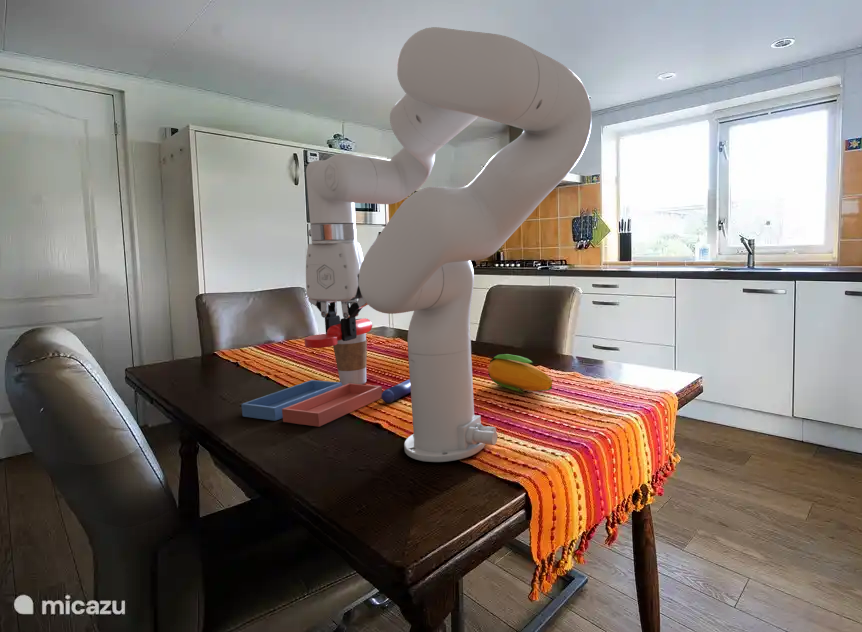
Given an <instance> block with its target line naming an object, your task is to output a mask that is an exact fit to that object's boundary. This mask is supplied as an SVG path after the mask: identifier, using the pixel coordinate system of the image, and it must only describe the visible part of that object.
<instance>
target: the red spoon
mask: <svg viewBox="0 0 862 632" xmlns="http://www.w3.org/2000/svg"><path fill="white" fill-rule="evenodd" d="M358 319H359V320H356V335H360V334H364V333H366V334H368V333H369V332H371V330H372V329H373V323H372V321H371V320H370V319H369V318H366V317H363V318H358ZM339 340H342V332H341V324H337V325H333V326H331V327H329V329H328V330H327V334H326V333H321V334H313V335H308V336H305V337H304V347H305V348H307V349H308V348H309V349H323V348H329V347H333V346H334V345H337V343H338V342H337V341H339Z"/></svg>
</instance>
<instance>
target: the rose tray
mask: <svg viewBox="0 0 862 632" xmlns="http://www.w3.org/2000/svg"><path fill="white" fill-rule="evenodd" d="M382 393H383V386H382V385H374V384H352V383H348V384H346V385H343V386H341V387H338V388H335V389H333V390H330V391H328V392H325V393H322V394H320V395H317V396H315V397H312V398H309V399H307V400H304V401H302V402H299V403H296V404H294V405H291V406H289V407H286V408H283V409H282V414H283V418H282V422H283V423H289V424H297V425H303V426H312V427H322V426H324V425H326V424H329V423H331V422H333V421H335V420H337V419H340V418H341V417H343V416H346V415H348V414H350V413H352V412H354V411H357V410H358V409H361V408H363V407H365V406H367V405H370V404H372V403H374V402H376V401H379V400H380V399H382V397H381V395H382Z"/></svg>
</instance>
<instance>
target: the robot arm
mask: <svg viewBox="0 0 862 632" xmlns="http://www.w3.org/2000/svg"><path fill="white" fill-rule="evenodd" d="M396 76H397V80H398V83H399V86H400V87H401V89H402V91H404V93H405V94H404V95H403V96H402V97H401V98H400V99H399V100H397V102H396V103H395V104H394V105H393V106H392V108H391V110H390V112H389V123H390V127H391V130H392V133H393V134H394V136H395V138H396V139H397V141H398V142H399V144H400V145H401V146H402V148H401V149H400V150H399V151H398V152H396V154H394V155H393V156H391V157H390V158H388V159H387V158H383V157H374V156H368V155H359V154H353V153H337V154H333V155H332V156H330V157H328V158H326V159H321V160H320V159H319V160H313V161H310V162H309V163H308V164H307V166H306V169H305V176H306V188H307V200H308V201H307V202H308V212H309V213H308V214H309V226H310V228H309V229H308V230H307V231H308V232H307V234H308V236H309V237H310V240H311V243H308V244H307V249H306V257H305V259H306V260H305V288H306V289H305V291H306V296H307V298H308V302H309V303H310V304H311V305H313V306H315V307H316V309H318V311H319V312H320V316H321V317H322V318H324V327H325V334H327V330H328V329H329V327H331V326H333V325H337V324H340V321H341V332H342V340H343V341H348V340H352V339H355V338H356V337H357V335H356V319H357V318H356V317H358V316H359V315H360V312H361V310H362V309H363V308H365V307H367V306H369V307H370V308H371V309H372V310H375V311H376V312H378V313H382V314H388V315H389V314H390V315H394V314H403V313H409V312H413V313H412V316H411V318H410V322H409V326H408V331H407V357H408V358H407V359H408V371H409V379H410V388H411V393H410V397H411V398H410V399H411V400H410V402H411V416H412V431H413V434H410V436H408V437H407V438H406V439H405V440H404V443H403V449H404V453H405V454H406V455H407V456H408V457H409V458H411V459H413V460H416V461H420V462H425V463H426V462H427V463H448V462H454V461H459V460H463V459H466V458H469V457H472V456H474V455H476V454H478V453H479V452H481V451H482V450H483V449H484V448H485V446H486V445H491V446H496V444H497V442H498V432H497V427H496V426H490V425H489V426H488V425H487V426H484V425H483V424H482V419H481V418H482V417H481V415H477V414H475V401H474V400H475V399H474V382H473V379H474V378H473V361H472V338H471V310H472V309H471V308H472V300H473V294H474V285H475V271H474V267H473V263H472V261H481V260H484V259H488V258H489V257H491V256H493V255H495V253H497V252H498V251H499V250H500V249H501V248H502V246H503V245H504V244H505V243H506V242H507V241H508V239H510V238H511V236H512V235H513V234H514V233H515V232H516V231H517V230H518V229H519V228H520V227H521V225H522V224H523V223H524V222H525V221H526V220H527V219H528V218H529V217H530V216H531V215H532V214H533V212H534V211H535V210H536V209H537V207H538V206H539V205H540V204H541V203H542V202H543V201H544V200H545V199H546V198H547V197H548V196H549V194H550V193H551V192H552V191H553V190H554V189H555V188H556V187H557V186H558V185H559V184H561V182H563V180H564V179H565V178H566V177H567V176H568V175H569V173H570V172H571V171H572V170H573V169H574V167H575V166H576V165H577V164H578V162H579V160H580V159H581V157H582V155H583V153H584V151H585V149H586V147H587V145H588V142H589V138H590V135H591V130H592V121H593V120H592V106H591V105H592V104H591V100H590V96H589V94H588V91H587V89H586V87H585V85H584V84H583V82H582V81H581V79H580V78H579V77H578V75H577V74H576V73H574V72H573V71H572V70H571V69H570V68H569V67H567V66H565V64H563V63H561V62H559V61H558V60H556V59H554V58H552V57H550V56H548V55H546V54H544V53H542V52H540V51H538V50H536V49H534V48H532V47H531V46H529V45H527V44H525V43H523V42H522V41H519V40H518V39H515V38H512V37H510V36H506V35H502V34H497V33H490V32H481V31H473V30H462V29H457V28H456V29H455V28H447V27H439V26H438V27H437V26H431V27H426V28H422V29H420V30H418V31H417V32H415V33H413V34H412V35H411V36H410V37H409V38H408V39H407V40H406V41H405V43H404V44H403V45H402V48H401V49H400V52H399V55H398V57H397V63H396ZM479 118H482V119H487V120H490V121H493V122H497V123H500V124H504V125H506V126H507V125H508V126H511V127H513V128H518V129H521V130H522V132H521V134H520V135H519V136H518V137H517V138H515V139H514V140H512V141H511V142H510V143H507V144H506V145H505V146H503V147H502V148H500V149H499V150H498V151H497V152H496V153H495V154H494V155H492V156H491V158H490V159H489V160H487V162H486V164H485V165H484V167H482V170H481V171H480V172H479V173H478V174H476V176H475V177H474V179H472V180H471V181H470V182H469V183H468V184H467V185H465V186H460V187H453V186H452V187H451V186H441V185H440V186H439V185H437V186H428V187H423V185H424V184H425V183H426V182H427V181H428V179H429V178H430V175H431V173H432V171H433V168H434V166H435V160H436V153H437V152H438V151H439V150H440V149H441V148H443V147H444V146H445V145H446V144H448V143H449V142H450V141H451V140H452V139H454V138H455V137H456V136H457V135H459V134H461V132H462V131H463V130H465V129H466V128H468V126H470V125H471V124H472V123H473V122H474V121H476V120H477V119H479ZM421 187H423V188H421ZM420 188H421V189H420ZM418 189H419V190H418ZM402 201H403V202H402ZM399 202H402V203H401V204H400V205H399V207H398V208H397V209H396V211H395V212H394V214H393V215H392V216H391V218H390V219H389V221H388V222H387V223H386V225H385V226H384V227H383V229H382V230H381V231H380V233H379V234H378V236H377V237H376V239H375V240H374V242H373V243H372V244H371V246H370V247H369V249H368V250H367V252H366V254H365V256H364V255H363V251H362V250H363V249H362V247H361V243H360V242H358V236H357V220H356V217H357V215H356V204H372V205H373V204H374V205H393V204H397V203H399ZM338 302H340V304H341V305H340V306H341V312H342V317H343V318H341V316H340V314H339V315H338Z"/></svg>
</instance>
